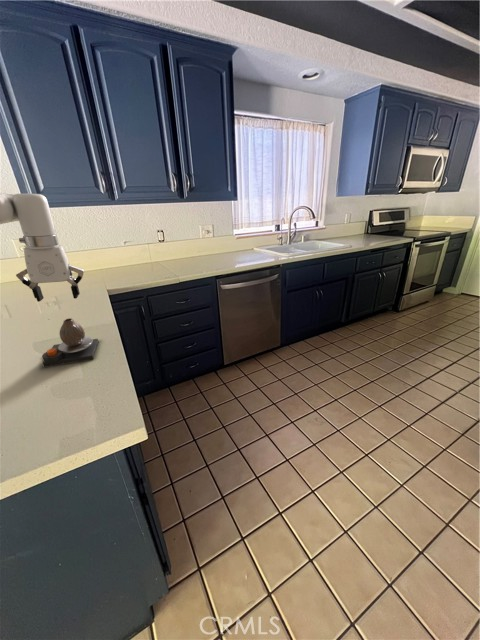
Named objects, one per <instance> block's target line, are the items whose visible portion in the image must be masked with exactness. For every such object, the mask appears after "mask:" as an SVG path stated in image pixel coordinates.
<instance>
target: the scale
mask: <svg viewBox="0 0 480 640" xmlns="http://www.w3.org/2000/svg"><path fill="white" fill-rule="evenodd" d="M91 339H92V341H93V342H92V344H91V345H90V346H89V347H87V348H86V349H83V350H81V351H77V352H73V353H63V352H60V351H59V349H58V347H59V345H60V344H61V343H57V344H53V345H52V347H51V349H52V348H55V349H56V350H57V353H58V354H56V355H54V356H48V354H47V351H46V352H44V353H42V355H41V358H42V360H43V362H42V366H43V368H47V367H52V366H57V365H58V366H59V365H65V364H71V363H77V362H82V361H89V360H94V359H95V355H96V351H97V350H98V349H97V348H98V346H99V338H91Z"/></svg>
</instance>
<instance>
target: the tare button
mask: <svg viewBox="0 0 480 640" xmlns="http://www.w3.org/2000/svg"><path fill="white" fill-rule="evenodd" d="M46 352H47V354H48V356H54V355H56V354H58V353H57V350H56V349H55V348H52V347H51V348H49V349H47V350H46Z"/></svg>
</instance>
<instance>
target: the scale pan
mask: <svg viewBox="0 0 480 640" xmlns="http://www.w3.org/2000/svg"><path fill="white" fill-rule="evenodd" d="M92 339H93V338H91V337H90V336H85V338H84V341H83V342H82V343H81V344H80V345H77V346H68V345H66V344H64V343H63V342H61V343H59V344H60V345H59V347H58V349H59V351H60V352H63V353H73V352H77V351H81V350H83V349H86V348H87V347H89V346H90V345H91V344H92V342H93V341H92Z"/></svg>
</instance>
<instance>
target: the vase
mask: <svg viewBox="0 0 480 640" xmlns="http://www.w3.org/2000/svg"><path fill="white" fill-rule="evenodd" d="M85 333H86V332H85V329H84V328H83V326H82V325H81V324H80V323H79V322H77V321H75V320H74V319H73V318H72V317H71V318H69V317H68V318H65V319H64V320H63V322H62V325H61V326H60V328H59V338H60V340H61V343H64V344H66V345H68V346H77V345H80V344H81V343H82V342H83V341H84V338H85V337H86V334H85Z"/></svg>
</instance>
